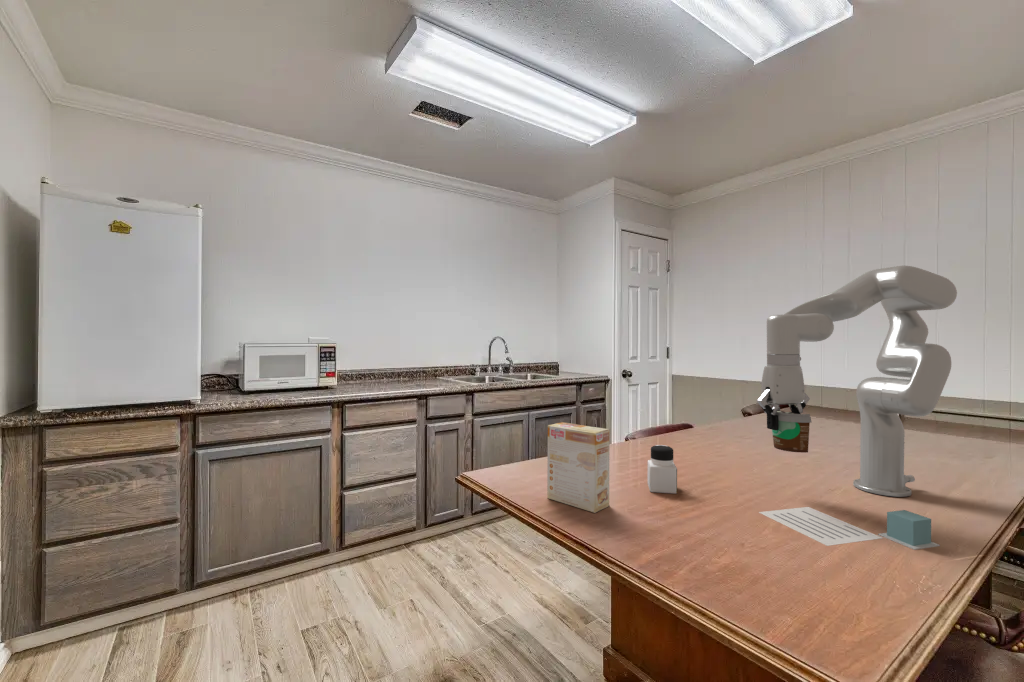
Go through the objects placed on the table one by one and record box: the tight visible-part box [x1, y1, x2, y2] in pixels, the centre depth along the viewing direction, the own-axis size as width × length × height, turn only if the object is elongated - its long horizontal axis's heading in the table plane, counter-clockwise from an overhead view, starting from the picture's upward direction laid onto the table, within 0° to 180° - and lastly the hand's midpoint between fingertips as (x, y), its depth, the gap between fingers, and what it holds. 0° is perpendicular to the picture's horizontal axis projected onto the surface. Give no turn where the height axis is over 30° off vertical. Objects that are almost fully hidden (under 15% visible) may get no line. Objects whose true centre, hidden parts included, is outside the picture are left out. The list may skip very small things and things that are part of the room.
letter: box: [758, 506, 883, 547], centre depth 102 cm, size 15×18×1 cm
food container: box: [771, 406, 812, 453], centre depth 119 cm, size 12×6×10 cm, turn 5°
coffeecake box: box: [546, 422, 611, 514], centre depth 115 cm, size 15×7×20 cm, turn 47°
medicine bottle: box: [647, 444, 678, 495], centre depth 126 cm, size 7×7×12 cm
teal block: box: [886, 509, 932, 546], centre depth 94 cm, size 5×5×5 cm
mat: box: [877, 532, 941, 551], centre depth 94 cm, size 7×7×1 cm
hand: (783, 427), depth 119 cm, fingers closed on food container, 6 cm apart
